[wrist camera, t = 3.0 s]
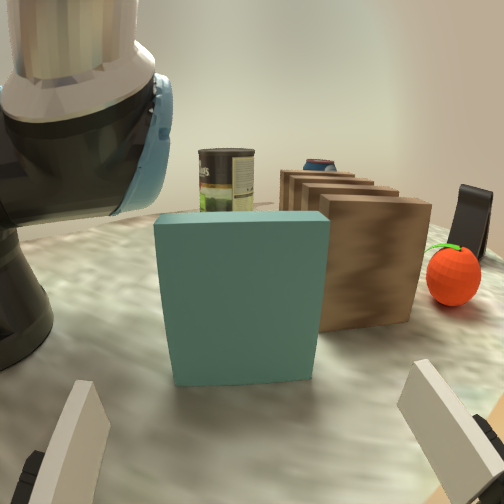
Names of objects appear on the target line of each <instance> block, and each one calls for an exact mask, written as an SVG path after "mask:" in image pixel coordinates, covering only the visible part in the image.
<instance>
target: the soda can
mask: <svg viewBox="0 0 504 504" xmlns="http://www.w3.org/2000/svg"><path fill="white" fill-rule="evenodd" d="M306 161H307V162H306V164H305V166H304V167H303V170H310V171H334V172H337V170H336V167H335V165H334V161H330V160H320V159H307V160H306Z"/></svg>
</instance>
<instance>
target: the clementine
mask: <svg viewBox="0 0 504 504" xmlns="http://www.w3.org/2000/svg"><path fill="white" fill-rule="evenodd" d="M439 246H441V247H444V248H442V249H440V250H439V251H438V252H436V253H435V254H434V255H433V257H432V258H431V260H430V261H429V264H428V267H427V273H426V281H427V286H428V288H429V291H430V293H431V295H432V296H433V297H434V298H435V299H436V300H437V301H438V302H440V303H442V304H444V305H447V306H458V305H462V304H464V303H466V302H467V301H469V300H470V299H471V298H472V297H473V296H474V295H475V294H476V292H477V289H478V287H479V285H480V281H481V268H480V265H479V262H478V260H477V258H476V257H475V255H474V254H473V253H472V252H471V251H470V250H469V249H467V248H465V247H462V246H461V245H460V246H458V245H453V244H438V245H435V246H432V247H430V248H429V249H431V248H434V247H439ZM429 249H428V250H429ZM428 250H426V251H428ZM426 251H425V252H426Z"/></svg>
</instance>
